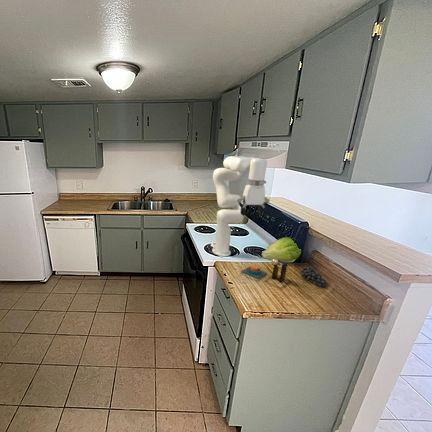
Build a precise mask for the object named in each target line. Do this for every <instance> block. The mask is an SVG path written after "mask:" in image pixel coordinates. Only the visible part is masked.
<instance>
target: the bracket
mask: <svg viewBox="0 0 432 432" xmlns="http://www.w3.org/2000/svg"><path fill="white" fill-rule="evenodd" d="M278 263H281V262H280V260H278ZM288 263H289V262H283V263H282V264H283V265H282V268H281V270H280V276H279V281H278V282H279V283H281V284H282V283H283V282H284V281H285V280H286V275H287V269H288V265H289V264H288ZM279 269H280V268H279V267H277V265H274V264H273V269H272V275H271V280H276V278H278V274H279Z"/></svg>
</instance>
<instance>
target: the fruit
mask: <svg viewBox="0 0 432 432" xmlns="http://www.w3.org/2000/svg"><path fill="white" fill-rule="evenodd" d="M299 273H300V275H301V278H303V279H304V281H307V282H309V283H310V284H312V285H314V286H316V285H317V286H318V287H321V288H324V289H327V288H328V286H329V285H328V282H327V280H326V279H324V278H323V276H322V275H321V273H320V272H319V271H317V270H315V267H314V266H311V265H307V266H303V267H302V269H299Z"/></svg>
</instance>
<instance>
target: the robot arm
mask: <svg viewBox="0 0 432 432" xmlns="http://www.w3.org/2000/svg"><path fill="white" fill-rule="evenodd" d="M222 165H223V167H218V168H216V169H214V170H213V173H212V181H213V185H214V186H215V191H216V192H215V193H216V201H217V206H218V207H219V208H221V209H220V210H218V211H216V231H215V232H216V233H215V241H214V243H213V242H212V243H211V244H210V247H211V248H212V249H211V252H212V254H214V255H216V256H219V257H229V256H231V254H232V252H231V250H230V243H231V236H232V235H231V234H232V228H231V227H230V225H229V224H241V223H242V222H243V221H244V216H245V215H246V207H247V206H258V210H257V211H258V212H257V214H258V215H260V216H263V214H264V209H265V208H266V207H267V206H268V204H269V203H270V201H271V200H270V199H269V198H267V197H265V196H266V188H265V184H267V180H265V179H266V178H265V177H266V170H267V165H268V161H267V159H265V158H260V157H246V156H243V155H241V156H240V155H238V156H237V155H235V156H234V155H230V156H227V157H225V159H224V160H223V163H222ZM244 173H248V178H247V179H248V180H247V184H246V185H245V186H244V190H243V193H242V196H241V195H239V194H237V193H230V188H229V186H228V185H229V184H228V183H226V181H238V180H240V178H241V177H242V175H243V174H244ZM223 208H224V209H223Z"/></svg>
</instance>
